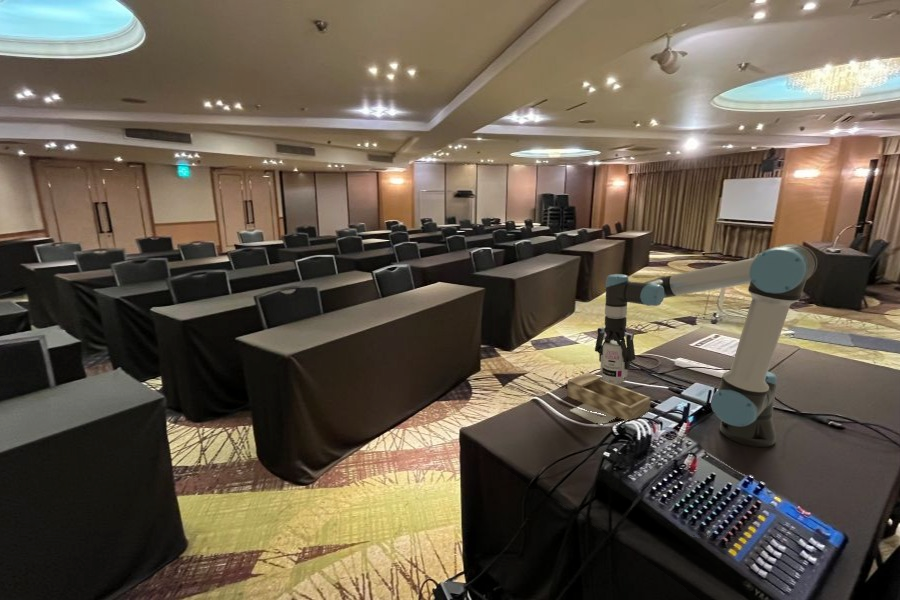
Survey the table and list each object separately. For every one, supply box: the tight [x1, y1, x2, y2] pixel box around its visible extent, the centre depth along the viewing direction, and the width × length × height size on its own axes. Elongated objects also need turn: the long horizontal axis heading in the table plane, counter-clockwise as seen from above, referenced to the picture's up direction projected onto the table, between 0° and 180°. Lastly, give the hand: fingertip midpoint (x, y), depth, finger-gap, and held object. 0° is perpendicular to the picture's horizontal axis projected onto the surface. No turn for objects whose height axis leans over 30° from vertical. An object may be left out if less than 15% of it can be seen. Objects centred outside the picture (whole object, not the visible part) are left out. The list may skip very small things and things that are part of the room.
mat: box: [569, 403, 617, 425], centre depth 154 cm, size 14×9×1 cm, turn 35°
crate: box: [566, 371, 651, 420], centre depth 161 cm, size 28×13×7 cm, turn 35°
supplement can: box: [601, 340, 626, 385], centre depth 156 cm, size 8×8×15 cm
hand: (613, 373), depth 157 cm, fingers closed on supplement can, 8 cm apart
